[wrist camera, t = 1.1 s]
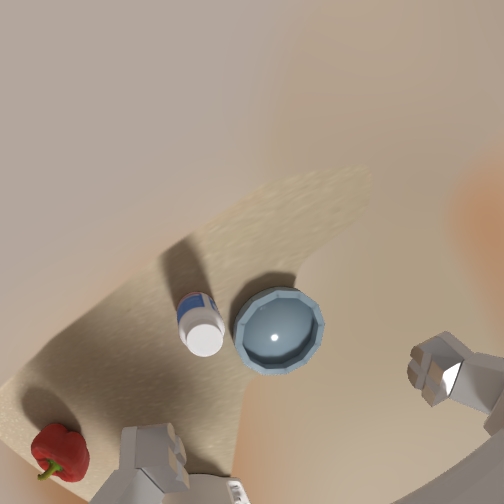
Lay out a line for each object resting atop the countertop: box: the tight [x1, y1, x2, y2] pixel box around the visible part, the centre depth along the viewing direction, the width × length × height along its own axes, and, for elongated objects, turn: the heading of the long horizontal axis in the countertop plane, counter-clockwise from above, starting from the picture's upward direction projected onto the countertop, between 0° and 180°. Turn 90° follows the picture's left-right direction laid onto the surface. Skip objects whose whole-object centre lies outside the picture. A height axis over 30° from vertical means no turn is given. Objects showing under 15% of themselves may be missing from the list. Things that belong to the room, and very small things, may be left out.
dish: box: [233, 287, 325, 375], centre depth 43 cm, size 13×13×2 cm
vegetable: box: [31, 424, 90, 482], centre depth 34 cm, size 11×10×10 cm
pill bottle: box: [177, 292, 225, 357], centre depth 37 cm, size 6×5×10 cm
